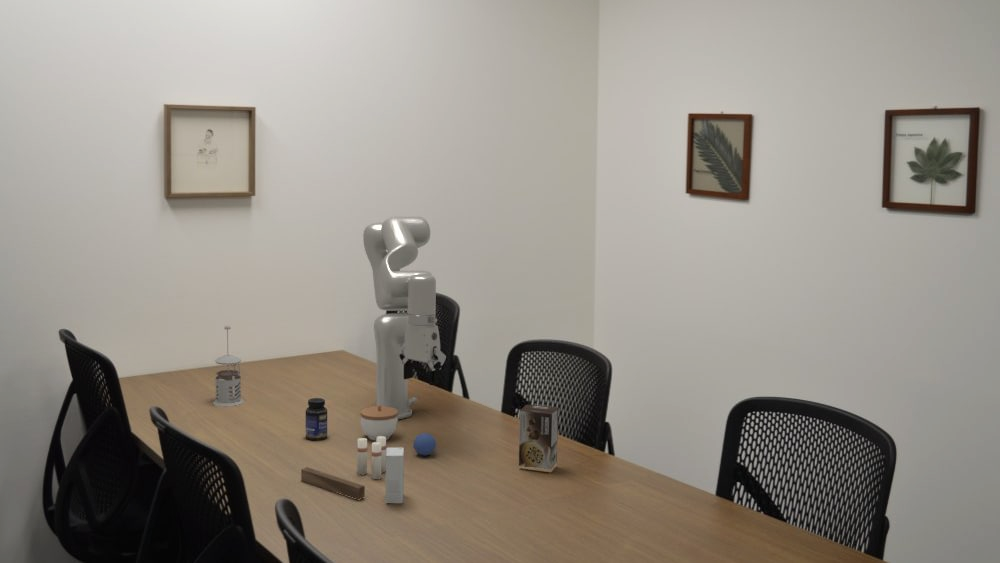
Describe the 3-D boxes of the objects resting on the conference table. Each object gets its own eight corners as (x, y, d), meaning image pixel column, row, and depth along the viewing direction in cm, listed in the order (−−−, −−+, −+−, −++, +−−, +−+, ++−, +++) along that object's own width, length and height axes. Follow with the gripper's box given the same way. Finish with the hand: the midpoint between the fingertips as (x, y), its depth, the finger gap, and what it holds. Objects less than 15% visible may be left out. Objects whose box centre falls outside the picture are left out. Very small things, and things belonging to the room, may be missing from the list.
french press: (207, 405, 303) (205, 327, 300) (223, 395, 315) (222, 320, 311) (236, 407, 302) (235, 329, 298) (251, 397, 313) (251, 322, 309)
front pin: (380, 468, 250) (381, 435, 249) (387, 471, 249) (388, 437, 247) (374, 471, 248) (374, 437, 247) (381, 473, 247) (381, 439, 245)
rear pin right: (362, 470, 248) (362, 437, 247) (369, 473, 247) (369, 439, 246) (355, 473, 246) (355, 439, 245) (362, 475, 245) (362, 441, 244)
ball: (423, 449, 266) (424, 428, 265) (440, 454, 263) (440, 433, 262) (409, 455, 261) (409, 433, 261) (425, 460, 258) (426, 438, 257)
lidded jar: (405, 437, 276) (406, 406, 275) (376, 445, 269) (376, 413, 267) (381, 429, 284) (381, 398, 282) (352, 436, 276) (352, 405, 275)
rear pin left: (376, 475, 245) (376, 441, 244) (383, 477, 244) (383, 443, 243) (369, 478, 243) (369, 443, 242) (376, 480, 242) (376, 445, 241)
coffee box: (557, 466, 256) (559, 407, 254) (550, 474, 250) (552, 413, 248) (524, 461, 259) (526, 403, 256) (517, 469, 253) (519, 409, 250)
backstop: (307, 478, 242) (307, 467, 241) (364, 498, 230) (364, 486, 230) (301, 480, 240) (301, 469, 240) (358, 500, 228) (358, 488, 228)
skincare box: (385, 494, 232) (386, 447, 231) (403, 494, 233) (404, 447, 231) (385, 504, 226) (385, 455, 225) (403, 504, 227) (403, 455, 225)
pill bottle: (322, 441, 271) (322, 403, 269) (302, 439, 272) (301, 402, 270) (330, 435, 277) (330, 398, 275) (310, 433, 278) (310, 396, 276)
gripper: (454, 322, 260) (453, 384, 263) (408, 314, 271) (408, 374, 274) (435, 325, 255) (434, 389, 257) (389, 317, 265) (389, 378, 268)
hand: (421, 381), depth 265 cm, fingers open, 9 cm apart
